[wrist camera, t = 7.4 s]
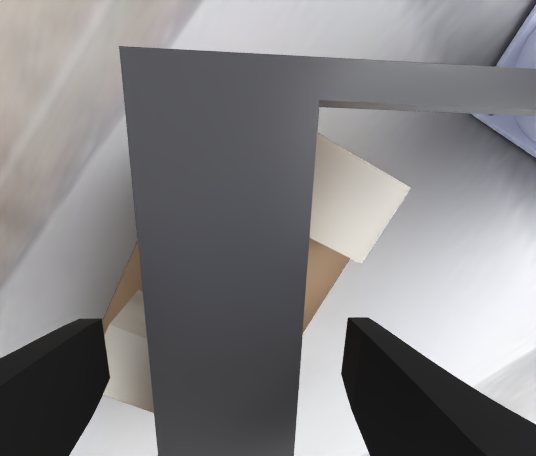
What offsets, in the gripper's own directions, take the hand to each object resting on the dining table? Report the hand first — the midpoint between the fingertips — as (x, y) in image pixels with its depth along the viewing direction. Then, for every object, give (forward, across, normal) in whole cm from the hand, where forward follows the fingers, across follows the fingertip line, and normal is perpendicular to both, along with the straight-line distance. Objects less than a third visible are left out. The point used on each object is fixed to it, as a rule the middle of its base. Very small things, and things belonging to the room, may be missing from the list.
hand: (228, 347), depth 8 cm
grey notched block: (+3, -3, 0) cm, 4 cm away
